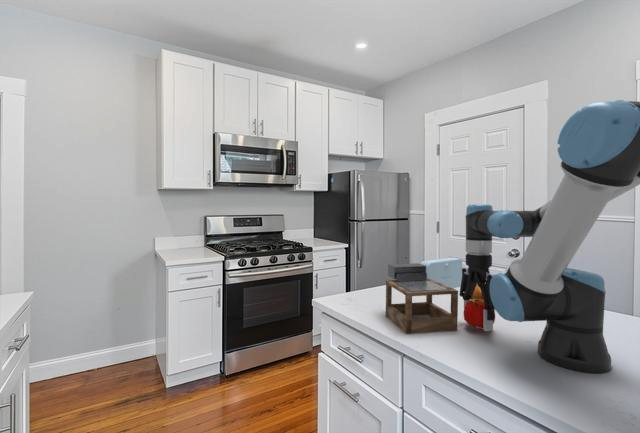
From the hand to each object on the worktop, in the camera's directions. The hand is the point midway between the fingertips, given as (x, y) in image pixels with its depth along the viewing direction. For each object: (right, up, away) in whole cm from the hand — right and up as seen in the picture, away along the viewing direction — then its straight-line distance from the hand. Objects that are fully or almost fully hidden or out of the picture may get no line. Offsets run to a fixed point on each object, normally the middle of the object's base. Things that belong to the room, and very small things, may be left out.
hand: (477, 324), depth 107 cm
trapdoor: (-17, +10, +9) cm, 22 cm away
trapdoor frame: (-16, -1, +7) cm, 18 cm away
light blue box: (+7, 0, +52) cm, 53 cm away
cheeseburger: (+14, -1, +25) cm, 28 cm away
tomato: (0, -1, 0) cm, 1 cm away
